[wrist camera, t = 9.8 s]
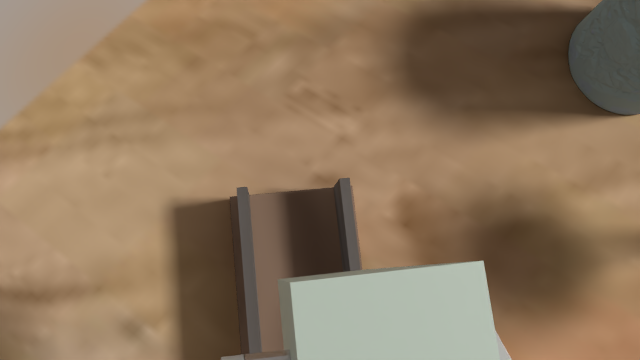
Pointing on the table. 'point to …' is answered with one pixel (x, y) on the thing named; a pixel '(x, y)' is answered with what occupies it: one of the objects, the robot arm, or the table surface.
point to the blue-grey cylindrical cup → (609, 56)
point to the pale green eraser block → (390, 314)
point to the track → (287, 251)
